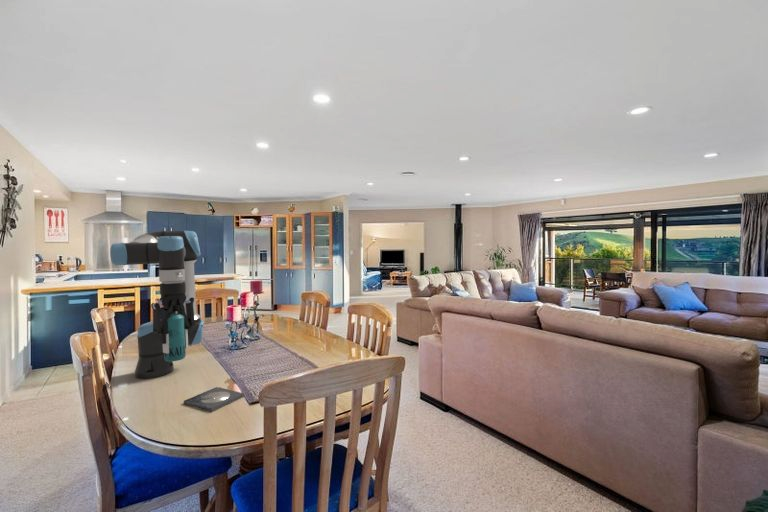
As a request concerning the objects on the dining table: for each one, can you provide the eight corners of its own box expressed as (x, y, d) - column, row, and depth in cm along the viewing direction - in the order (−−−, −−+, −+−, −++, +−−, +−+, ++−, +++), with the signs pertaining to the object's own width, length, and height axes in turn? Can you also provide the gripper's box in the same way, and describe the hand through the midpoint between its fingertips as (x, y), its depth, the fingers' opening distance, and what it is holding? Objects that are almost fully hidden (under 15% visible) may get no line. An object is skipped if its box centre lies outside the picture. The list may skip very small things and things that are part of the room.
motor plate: (183, 403, 136) (183, 400, 136) (216, 389, 148) (216, 386, 148) (211, 412, 129) (211, 408, 129) (244, 396, 141) (244, 393, 141)
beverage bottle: (170, 360, 128) (167, 303, 127) (190, 359, 129) (187, 302, 128) (160, 366, 122) (157, 306, 121) (181, 365, 122) (178, 305, 122)
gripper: (150, 286, 114) (154, 359, 116) (204, 279, 131) (207, 344, 132) (136, 285, 118) (140, 356, 119) (191, 278, 134) (194, 341, 136)
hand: (175, 350), depth 126 cm, fingers closed on beverage bottle, 6 cm apart
